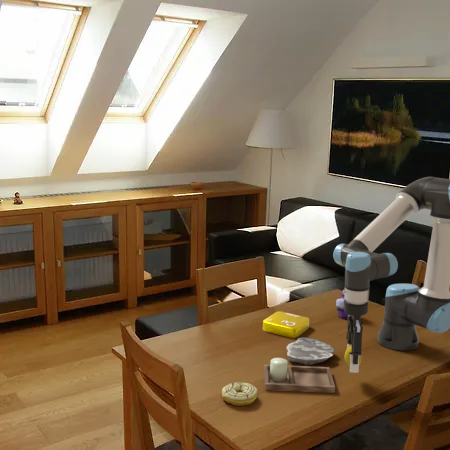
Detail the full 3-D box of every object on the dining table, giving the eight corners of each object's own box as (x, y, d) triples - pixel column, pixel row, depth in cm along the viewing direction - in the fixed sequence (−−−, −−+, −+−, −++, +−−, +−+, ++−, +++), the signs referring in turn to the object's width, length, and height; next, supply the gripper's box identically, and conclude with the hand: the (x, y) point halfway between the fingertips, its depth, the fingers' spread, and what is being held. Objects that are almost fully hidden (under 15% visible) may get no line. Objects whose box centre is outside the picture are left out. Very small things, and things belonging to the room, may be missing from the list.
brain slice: (328, 372, 197) (329, 364, 197) (280, 363, 203) (280, 355, 202) (338, 350, 215) (338, 342, 215) (293, 342, 221) (293, 335, 220)
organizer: (328, 372, 196) (329, 367, 196) (334, 392, 183) (335, 387, 182) (264, 369, 197) (264, 364, 197) (265, 389, 183) (265, 384, 183)
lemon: (361, 373, 187) (362, 350, 185) (343, 371, 188) (344, 348, 186) (360, 365, 192) (362, 342, 190) (343, 363, 193) (345, 341, 191)
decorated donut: (228, 388, 184) (228, 377, 184) (260, 394, 181) (261, 383, 180) (217, 403, 175) (217, 392, 174) (251, 410, 171) (251, 398, 171)
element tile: (310, 327, 236) (311, 316, 235) (294, 339, 224) (295, 328, 223) (277, 320, 244) (278, 309, 243) (260, 331, 232) (261, 319, 231)
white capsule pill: (286, 374, 193) (287, 358, 191) (287, 382, 187) (288, 365, 186) (269, 374, 193) (270, 357, 192) (270, 382, 187) (270, 364, 186)
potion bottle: (332, 313, 252) (333, 287, 250) (351, 313, 253) (353, 286, 251) (338, 320, 244) (339, 293, 241) (357, 320, 245) (359, 293, 242)
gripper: (339, 290, 194) (336, 354, 199) (349, 311, 176) (345, 381, 181) (362, 290, 193) (358, 355, 198) (374, 311, 175) (369, 381, 180)
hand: (352, 367), depth 190 cm, fingers closed on lemon, 5 cm apart
